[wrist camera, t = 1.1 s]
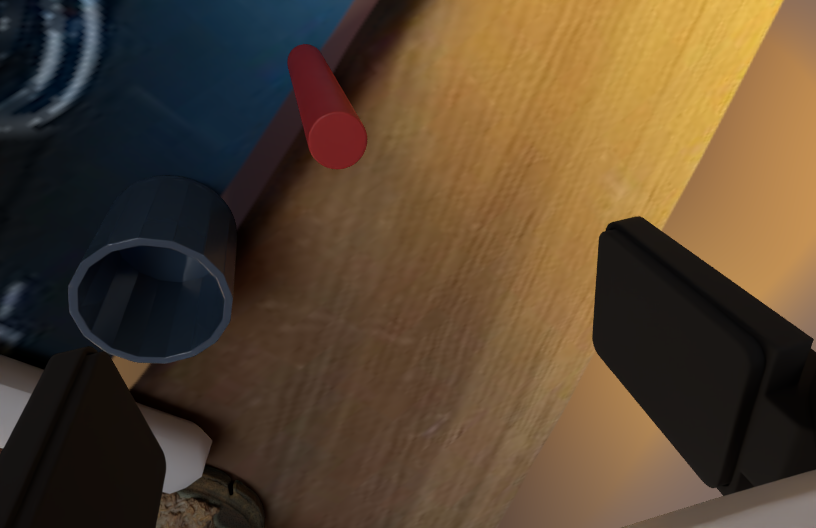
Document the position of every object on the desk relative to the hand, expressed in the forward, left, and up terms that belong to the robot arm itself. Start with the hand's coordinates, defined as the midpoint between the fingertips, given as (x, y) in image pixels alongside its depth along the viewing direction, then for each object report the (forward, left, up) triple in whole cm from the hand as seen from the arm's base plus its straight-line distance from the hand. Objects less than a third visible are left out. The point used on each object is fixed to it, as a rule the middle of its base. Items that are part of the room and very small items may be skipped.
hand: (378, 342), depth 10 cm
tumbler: (+7, -9, -24) cm, 26 cm away
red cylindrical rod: (-1, +1, -24) cm, 24 cm away
